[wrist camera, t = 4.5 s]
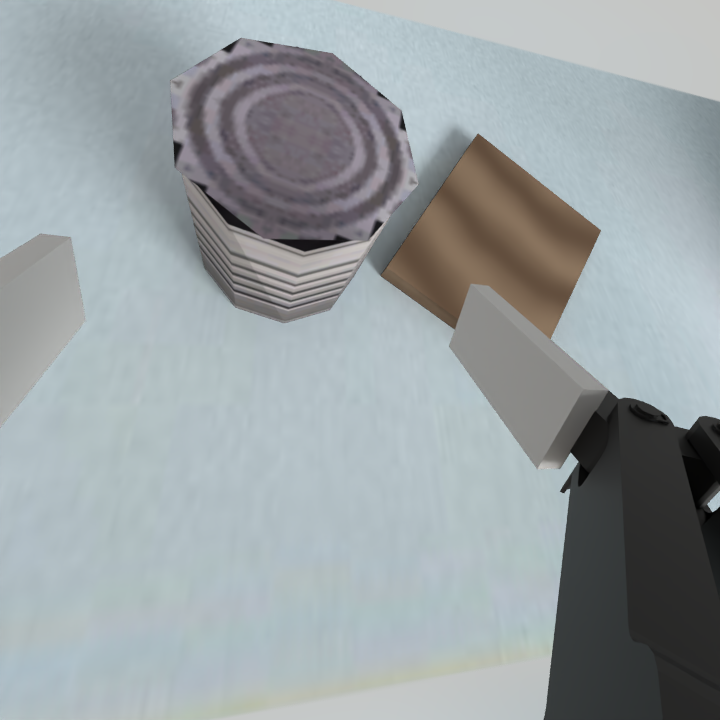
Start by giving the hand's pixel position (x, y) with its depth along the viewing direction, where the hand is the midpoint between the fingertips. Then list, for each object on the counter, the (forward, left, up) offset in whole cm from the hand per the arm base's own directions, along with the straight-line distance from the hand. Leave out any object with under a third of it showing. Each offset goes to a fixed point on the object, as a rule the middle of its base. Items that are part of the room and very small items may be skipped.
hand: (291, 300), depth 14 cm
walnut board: (-19, +9, -14) cm, 26 cm away
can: (-8, -5, -15) cm, 17 cm away
